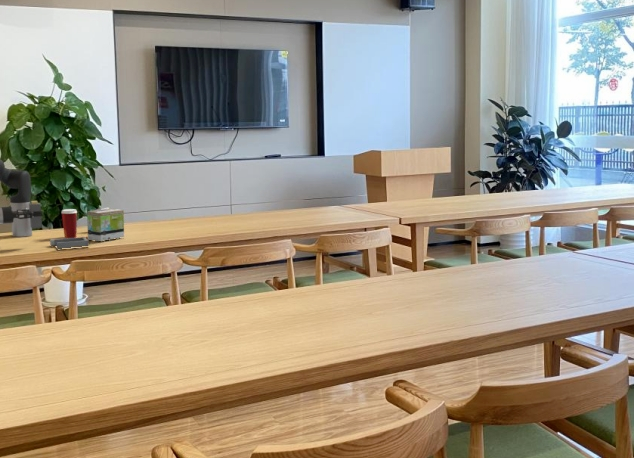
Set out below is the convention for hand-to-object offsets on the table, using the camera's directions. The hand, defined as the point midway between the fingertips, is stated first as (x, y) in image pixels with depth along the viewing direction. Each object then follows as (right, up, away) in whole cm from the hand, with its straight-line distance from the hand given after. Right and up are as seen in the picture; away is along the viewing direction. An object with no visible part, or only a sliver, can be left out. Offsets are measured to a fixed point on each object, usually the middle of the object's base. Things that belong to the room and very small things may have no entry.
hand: (41, 212), depth 318 cm
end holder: (+14, -16, +1) cm, 21 cm away
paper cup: (+4, -12, +27) cm, 30 cm away
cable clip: (+5, -16, +4) cm, 17 cm away
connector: (-2, -7, 0) cm, 7 cm away
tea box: (+24, -13, +22) cm, 35 cm away
